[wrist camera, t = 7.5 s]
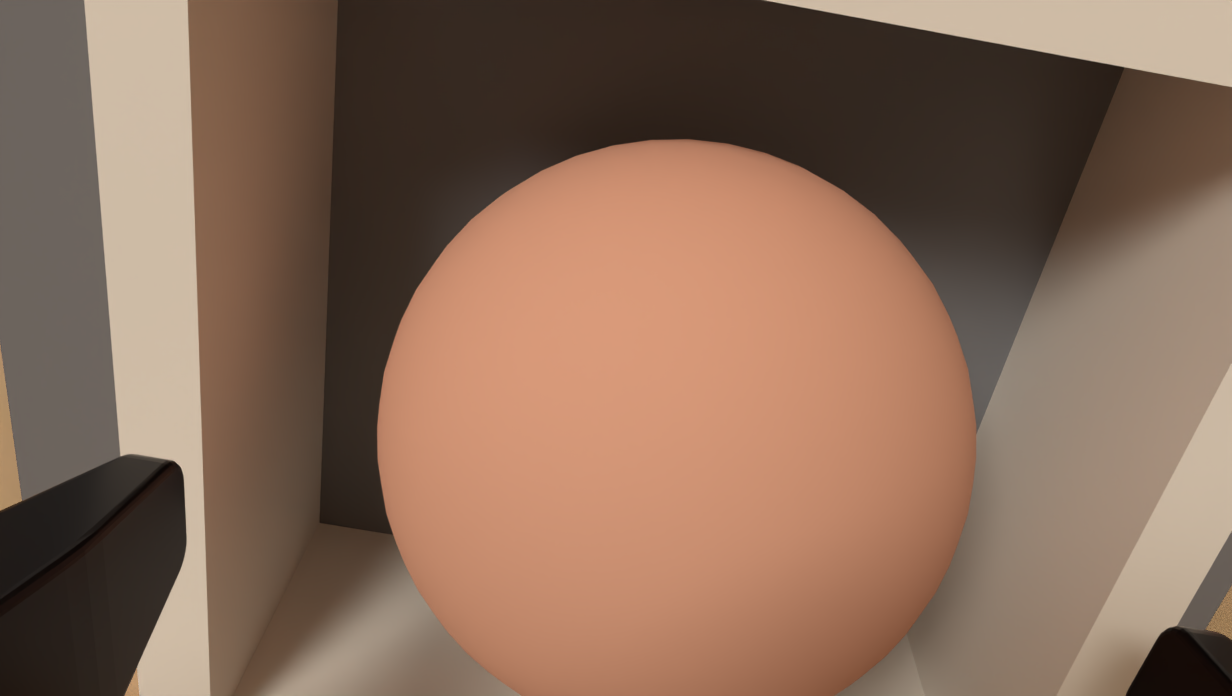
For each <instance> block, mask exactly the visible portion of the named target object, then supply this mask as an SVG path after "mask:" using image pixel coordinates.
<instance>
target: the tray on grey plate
mask: <svg viewBox="0 0 1232 696" xmlns="http://www.w3.org/2000/svg"><path fill="white" fill-rule="evenodd" d="M676 139H692V140H701V141H710V142H718V143H727V144H732V145H736V146H740V147H744V148H748V149H752V150H756V151H760V152H764V153H767V154H770V155H772V156H775V157H777V158H780V159H783V160H785V161H788V162H790V163H793V164H795V165H798V166H800V167H802V168H804V169H806V170H808V171H809V172H811V173H813V174H815V175H817V176H818V177H820V178H822V179H824V180H826V181H827V182H829V183H831V184H833V185H834V186H836V187H838V188H839V189H841V190H843V191H844V192H846V193H847V194H848V195H850V196H851V197H852V198H854V199H855V200H856V201H858V202H859V203H860V204H862V205H863V206H864V207H865V208H867V209H868V210H869V211H871V212H872V213H873V214H875V215H876V216H877V217H878V219H879V220H880V221H881V222H882V223H883V224H884V225H885V226H886V227H887V228H888V229H889V230H890V231H891V232H892V233H893V234H894V235H895V236H896V237H897V238H898V239H899V240H900V241H901V242H902V243H903V245H904V246H905V247H906V248H907V250H908V251H909V252H910V253H911V255H912V256H913V257H914V259H915V260H916V262H917V263H918V264H919V266H920V267H921V268H922V270H923V271H924V273H925V274H926V275H927V277H928V278H929V279H930V281H931V282H932V284H933V285H934V287H935V289H936V291H937V293H938V295H939V297H940V299H941V301H942V303H943V305H944V307H945V309H946V311H947V313H948V315H949V317H950V319H951V322H952V324H953V327H954V329H955V331H956V334H957V336H958V340H959V343H960V346H961V349H962V352H963V355H964V358H965V361H966V364H967V367H968V372H969V378H970V384H971V391H972V397H973V404H974V411H975V419H976V463H975V472H974V481H973V487H972V493H971V499H970V505H969V511H968V515H967V518H966V521H965V524H964V527H963V530H962V533H961V536H960V539H959V542H958V545H957V548H956V550H955V553H954V555H953V558H952V561H951V563H950V566H949V568H948V570H947V572H946V574H945V576H944V578H943V579H942V581H941V583H940V585H939V587H938V589H937V591H936V593H935V595H934V596H933V597H932V599H931V600H930V602H929V603H928V604H927V606H926V607H925V609H924V610H923V612H922V613H921V614H920V616H919V617H918V619H917V620H916V621H915V623H914V624H913V626H912V627H911V628H910V630H909V631H908V632H907V634H906V635H905V636H904V637H903V638H902V639H901V641H900V642H899V643H898V644H897V645H896V646H895V647H894V648H893V649H892V650H891V651H890V652H889V653H888V655H887V656H886V657H884V658H883V659H882V660H881V661H880V662H879V663H877V664H876V665H875V666H874V667H873V668H871V669H870V670H869V671H868V672H867V673H865V674H864V675H863V676H862V677H860V678H859V679H858V680H856V681H855V682H854V683H852V684H851V685H850V686H848V687H847V688H845V689H844V690H842V691H841V692H839V693H838V694H836V695H835V696H1126V693H1127V691H1128V688H1129V687H1130V685H1131V683H1132V681H1133V680H1134V678H1135V676H1136V674H1137V673H1138V671H1139V669H1140V667H1141V666H1142V664H1143V662H1144V660H1145V659H1146V657H1147V655H1148V654H1149V652H1150V650H1151V648H1152V647H1153V645H1154V643H1155V641H1156V640H1157V638H1158V636H1159V635H1160V634H1161V633H1162V632H1163V631H1164V630H1166V629H1167V628H1169V627H1173V626H1183V627H1189V628H1195V629H1201V630H1205V629H1206V627H1207V626H1208V624H1209V622H1210V621H1211V619H1212V617H1213V616H1214V614H1215V612H1216V611H1217V609H1218V607H1219V606H1220V604H1221V602H1222V600H1223V599H1224V597H1225V595H1226V594H1227V592H1228V590H1229V589H1230V587H1231V585H1232V0H0V345H1V352H2V359H3V366H4V373H5V381H6V388H7V395H8V402H9V409H10V416H11V424H12V431H13V438H14V445H15V452H16V460H17V467H18V474H19V481H20V488H21V496H22V501H23V500H25V499H27V498H30V497H32V496H34V495H36V494H38V493H41V492H43V491H45V490H47V489H49V488H52V487H54V486H56V485H58V484H60V483H63V482H65V481H67V480H69V479H71V478H74V477H76V476H78V475H80V474H82V473H85V472H87V471H89V470H91V469H93V468H96V467H98V466H100V465H102V464H104V463H107V462H109V461H111V460H113V459H115V458H118V457H120V456H123V455H126V454H138V455H144V456H150V457H156V458H162V459H168V460H173V461H175V462H176V463H177V464H178V465H179V466H180V467H181V469H182V472H183V476H184V491H185V513H186V534H187V544H186V552H185V557H184V561H183V564H182V567H181V570H180V572H179V574H178V577H177V579H176V581H175V583H174V586H173V588H172V590H171V592H170V595H169V597H168V599H167V601H166V603H165V606H164V608H163V610H162V612H161V615H160V617H159V619H158V621H157V624H156V626H155V628H154V630H153V633H152V635H151V637H150V639H149V641H148V644H147V646H146V648H145V650H144V653H143V655H142V657H141V659H140V662H139V664H138V666H137V671H138V684H139V696H521V695H520V694H518V693H517V692H515V691H514V690H512V689H511V688H510V687H508V686H507V685H505V684H504V683H502V682H501V681H500V680H498V679H497V678H496V677H494V676H493V675H492V674H490V673H489V672H488V671H487V670H485V669H484V668H483V667H482V666H481V665H480V664H479V663H477V662H476V661H475V660H474V659H473V658H472V657H470V656H469V655H468V654H467V653H466V652H465V651H464V650H463V649H462V647H461V646H460V645H459V644H458V643H457V642H456V641H455V640H454V639H453V637H452V636H451V635H450V634H449V633H448V632H447V631H446V629H445V628H444V627H443V625H442V624H441V623H440V621H439V620H438V619H437V617H436V616H435V614H434V613H433V612H432V610H431V609H430V607H429V606H428V604H427V603H426V601H425V600H424V598H423V597H422V596H421V594H420V593H419V591H418V589H417V587H416V585H415V584H414V582H413V580H412V578H411V576H410V574H409V572H408V570H407V568H406V566H405V564H404V561H403V559H402V556H401V554H400V551H399V549H398V546H397V544H396V541H395V538H394V535H393V532H392V529H391V526H390V523H389V520H388V517H387V514H386V509H385V503H384V497H383V491H382V485H381V479H380V472H379V465H378V451H377V424H378V413H379V403H380V396H381V390H382V383H383V376H384V371H385V367H386V364H387V361H388V358H389V355H390V351H391V348H392V345H393V342H394V339H395V336H396V333H397V330H398V327H399V325H400V322H401V319H402V317H403V315H404V313H405V311H406V309H407V307H408V305H409V303H410V301H411V299H412V297H413V295H414V293H415V291H416V289H417V287H418V286H419V285H420V283H421V282H422V280H423V279H424V277H425V276H426V274H427V273H428V272H429V270H430V269H431V267H432V266H433V264H434V263H435V261H436V260H437V259H438V257H439V256H440V254H441V253H442V252H443V250H444V249H445V247H446V246H447V245H448V244H449V243H450V242H451V241H452V240H453V238H454V237H455V236H456V235H457V234H458V233H459V232H460V231H461V230H462V229H463V228H464V227H465V226H466V225H467V224H468V222H469V221H470V220H471V219H472V218H474V217H475V216H476V215H477V214H479V213H480V212H481V211H482V210H484V209H485V208H486V207H487V206H489V205H490V204H491V203H492V202H494V201H495V200H496V199H497V198H499V197H500V196H501V195H503V194H504V193H506V192H507V191H509V190H510V189H512V188H513V187H515V186H517V185H518V184H520V183H522V182H523V181H525V180H527V179H529V178H530V177H532V176H534V175H535V174H537V173H539V172H540V171H542V170H544V169H547V168H549V167H551V166H554V165H556V164H558V163H561V162H563V161H565V160H568V159H570V158H572V157H574V156H577V155H581V154H584V153H588V152H591V151H595V150H599V149H602V148H606V147H609V146H613V145H620V144H626V143H633V142H640V141H647V140H676Z"/></svg>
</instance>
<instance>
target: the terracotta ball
mask: <svg viewBox="0 0 1232 696" xmlns="http://www.w3.org/2000/svg"><path fill="white" fill-rule="evenodd" d="M377 451H378V465H379V472H380V479H381V485H382V491H383V497H384V503H385V509H386V514H387V517H388V520H389V523H390V526H391V529H392V532H393V535H394V538H395V541H396V544H397V546H398V549H399V551H400V554H401V556H402V559H403V561H404V564H405V566H406V568H407V570H408V572H409V574H410V576H411V578H412V580H413V582H414V584H415V585H416V587H417V589H418V591H419V593H420V594H421V596H422V597H423V598H424V600H425V601H426V603H427V604H428V606H429V607H430V609H431V610H432V612H433V613H434V614H435V616H436V617H437V619H438V620H439V621H440V623H441V624H442V625H443V627H444V628H445V629H446V631H447V632H448V633H449V634H450V635H451V636H452V637H453V639H454V640H455V641H456V642H457V643H458V644H459V645H460V646H461V647H462V649H463V650H464V651H465V652H466V653H467V654H468V655H469V656H470V657H472V658H473V659H474V660H475V661H476V662H477V663H479V664H480V665H481V666H482V667H483V668H484V669H485V670H487V671H488V672H489V673H490V674H492V675H493V676H494V677H496V678H497V679H498V680H500V681H501V682H502V683H504V684H505V685H507V686H508V687H510V688H511V689H512V690H514V691H515V692H517V693H518V694H520V695H521V696H835V695H836V694H838V693H839V692H841V691H842V690H844V689H845V688H847V687H848V686H850V685H851V684H852V683H854V682H855V681H856V680H858V679H859V678H860V677H862V676H863V675H864V674H865V673H867V672H868V671H869V670H870V669H871V668H873V667H874V666H875V665H876V664H877V663H879V662H880V661H881V660H882V659H883V658H884V657H886V656H887V655H888V653H889V652H890V651H891V650H892V649H893V648H894V647H895V646H896V645H897V644H898V643H899V642H900V641H901V639H902V638H903V637H904V636H905V635H906V634H907V632H908V631H909V630H910V628H911V627H912V626H913V624H914V623H915V621H916V620H917V619H918V617H919V616H920V614H921V613H922V612H923V610H924V609H925V607H926V606H927V604H928V603H929V602H930V600H931V599H932V597H933V596H934V595H935V593H936V591H937V589H938V587H939V585H940V583H941V581H942V579H943V578H944V576H945V574H946V572H947V570H948V568H949V566H950V563H951V561H952V558H953V555H954V553H955V550H956V548H957V545H958V542H959V539H960V536H961V533H962V530H963V527H964V524H965V521H966V518H967V515H968V511H969V505H970V499H971V493H972V487H973V481H974V472H975V463H976V419H975V411H974V404H973V397H972V391H971V384H970V378H969V372H968V367H967V364H966V361H965V358H964V355H963V352H962V349H961V346H960V343H959V340H958V336H957V334H956V331H955V329H954V327H953V324H952V322H951V319H950V317H949V315H948V313H947V311H946V309H945V307H944V305H943V303H942V301H941V299H940V297H939V295H938V293H937V291H936V289H935V287H934V285H933V284H932V282H931V281H930V279H929V278H928V277H927V275H926V274H925V273H924V271H923V270H922V268H921V267H920V266H919V264H918V263H917V262H916V260H915V259H914V257H913V256H912V255H911V253H910V252H909V251H908V250H907V248H906V247H905V246H904V245H903V243H902V242H901V241H900V240H899V239H898V238H897V237H896V236H895V235H894V234H893V233H892V232H891V231H890V230H889V229H888V228H887V227H886V226H885V225H884V224H883V223H882V222H881V221H880V220H879V219H878V217H877V216H876V215H875V214H873V213H872V212H871V211H869V210H868V209H867V208H865V207H864V206H863V205H862V204H860V203H859V202H858V201H856V200H855V199H854V198H852V197H851V196H850V195H848V194H847V193H846V192H844V191H843V190H841V189H839V188H838V187H836V186H834V185H833V184H831V183H829V182H827V181H826V180H824V179H822V178H820V177H818V176H817V175H815V174H813V173H811V172H809V171H808V170H806V169H804V168H802V167H800V166H798V165H795V164H793V163H790V162H788V161H785V160H783V159H780V158H777V157H775V156H772V155H770V154H767V153H764V152H760V151H756V150H752V149H748V148H744V147H740V146H736V145H732V144H727V143H718V142H710V141H701V140H692V139H676V140H647V141H640V142H633V143H626V144H620V145H613V146H609V147H606V148H602V149H599V150H595V151H591V152H588V153H584V154H581V155H577V156H574V157H572V158H570V159H568V160H565V161H563V162H561V163H558V164H556V165H554V166H551V167H549V168H547V169H544V170H542V171H540V172H539V173H537V174H535V175H534V176H532V177H530V178H529V179H527V180H525V181H523V182H522V183H520V184H518V185H517V186H515V187H513V188H512V189H510V190H509V191H507V192H506V193H504V194H503V195H501V196H500V197H499V198H497V199H496V200H495V201H494V202H492V203H491V204H490V205H489V206H487V207H486V208H485V209H484V210H482V211H481V212H480V213H479V214H477V215H476V216H475V217H474V218H472V219H471V220H470V221H469V222H468V224H467V225H466V226H465V227H464V228H463V229H462V230H461V231H460V232H459V233H458V234H457V235H456V236H455V237H454V238H453V240H452V241H451V242H450V243H449V244H448V245H447V246H446V247H445V249H444V250H443V252H442V253H441V254H440V256H439V257H438V259H437V260H436V261H435V263H434V264H433V266H432V267H431V269H430V270H429V272H428V273H427V274H426V276H425V277H424V279H423V280H422V282H421V283H420V285H419V286H418V287H417V289H416V291H415V293H414V295H413V297H412V299H411V301H410V303H409V305H408V307H407V309H406V311H405V313H404V315H403V317H402V319H401V322H400V325H399V327H398V330H397V333H396V336H395V339H394V342H393V345H392V348H391V351H390V355H389V358H388V361H387V364H386V367H385V371H384V376H383V383H382V390H381V396H380V403H379V413H378V424H377Z"/></svg>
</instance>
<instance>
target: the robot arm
mask: <svg viewBox="0 0 1232 696" xmlns="http://www.w3.org/2000/svg"><path fill="white" fill-rule="evenodd" d="M186 544H187V534H186V513H185V491H184V476H183V472H182V469H181V467H180V466H179V465H178V464H177V463H176V462H175V461H173V460H168V459H162V458H156V457H150V456H144V455H138V454H126V455H123V456H120V457H118V458H115V459H113V460H111V461H109V462H107V463H104V464H102V465H100V466H98V467H96V468H93V469H91V470H89V471H87V472H85V473H82V474H80V475H78V476H76V477H74V478H71V479H69V480H67V481H65V482H63V483H60V484H58V485H56V486H54V487H52V488H49V489H47V490H45V491H43V492H41V493H38V494H36V495H34V496H32V497H30V498H27V499H25V500H23V501H21V502H19V503H16V504H14V505H12V506H10V507H8V508H5V509H3V510H1V511H0V696H124V695H125V693H126V691H127V688H128V686H129V684H130V682H131V679H132V677H133V675H134V673H135V671H136V668H137V666H138V664H139V662H140V659H141V657H142V655H143V653H144V650H145V648H146V646H147V644H148V641H149V639H150V637H151V635H152V633H153V630H154V628H155V626H156V624H157V621H158V619H159V617H160V615H161V612H162V610H163V608H164V606H165V603H166V601H167V599H168V597H169V595H170V592H171V590H172V588H173V586H174V583H175V581H176V579H177V577H178V574H179V572H180V570H181V567H182V564H183V561H184V557H185V552H186ZM1126 696H1232V640H1231V639H1229V638H1228V637H1226V636H1225V635H1222V634H1220V633H1217V632H1213V631H1208V630H1201V629H1195V628H1189V627H1183V626H1173V627H1169V628H1167V629H1166V630H1164V631H1163V632H1162V633H1161V634H1160V635H1159V636H1158V638H1157V640H1156V641H1155V643H1154V645H1153V647H1152V648H1151V650H1150V652H1149V654H1148V655H1147V657H1146V659H1145V660H1144V662H1143V664H1142V666H1141V667H1140V669H1139V671H1138V673H1137V674H1136V676H1135V678H1134V680H1133V681H1132V683H1131V685H1130V687H1129V688H1128V691H1127V693H1126Z"/></svg>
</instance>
